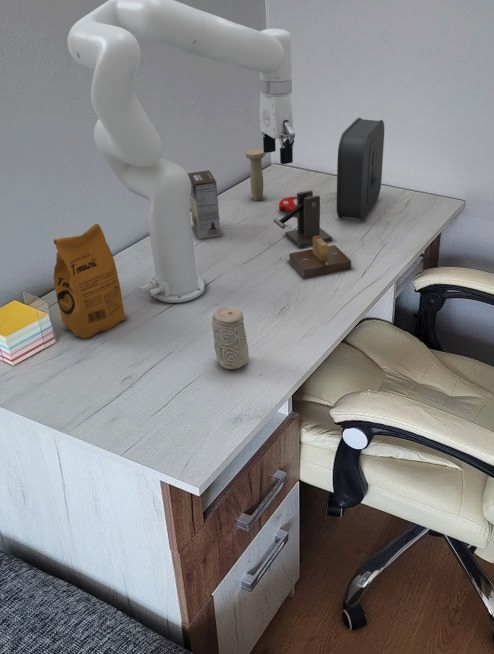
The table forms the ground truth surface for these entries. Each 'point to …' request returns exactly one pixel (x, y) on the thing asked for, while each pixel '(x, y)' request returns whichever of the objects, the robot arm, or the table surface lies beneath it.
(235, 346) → the carving
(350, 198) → the speaker
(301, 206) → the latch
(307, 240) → the latch bracket
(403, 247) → the table surface
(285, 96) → the robot arm
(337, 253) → the plate
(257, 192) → the handle
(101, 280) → the coffee package
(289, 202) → the tracker holder
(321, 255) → the thumbturn
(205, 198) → the coffee box
